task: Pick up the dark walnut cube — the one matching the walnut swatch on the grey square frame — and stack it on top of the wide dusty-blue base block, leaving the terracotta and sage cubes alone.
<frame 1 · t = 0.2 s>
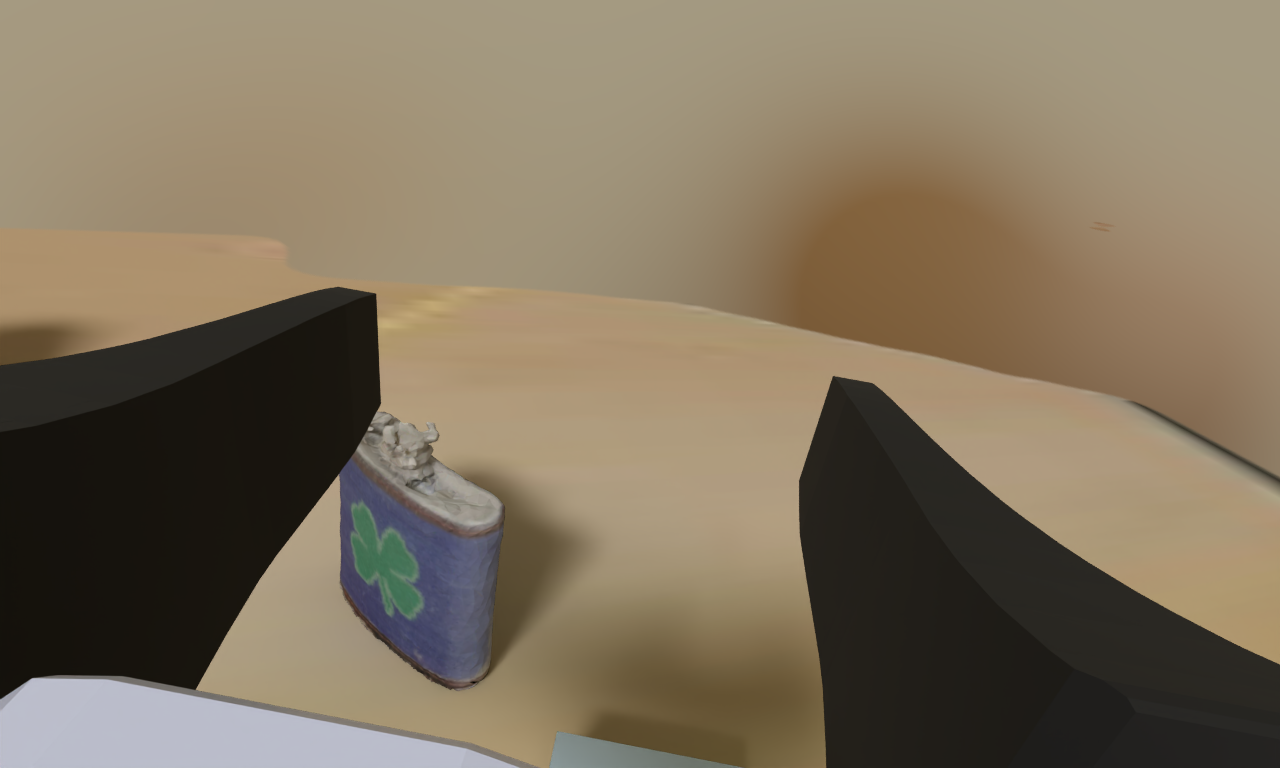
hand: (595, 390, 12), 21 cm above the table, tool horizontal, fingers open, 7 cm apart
flask: (408, 626, 33), on the table
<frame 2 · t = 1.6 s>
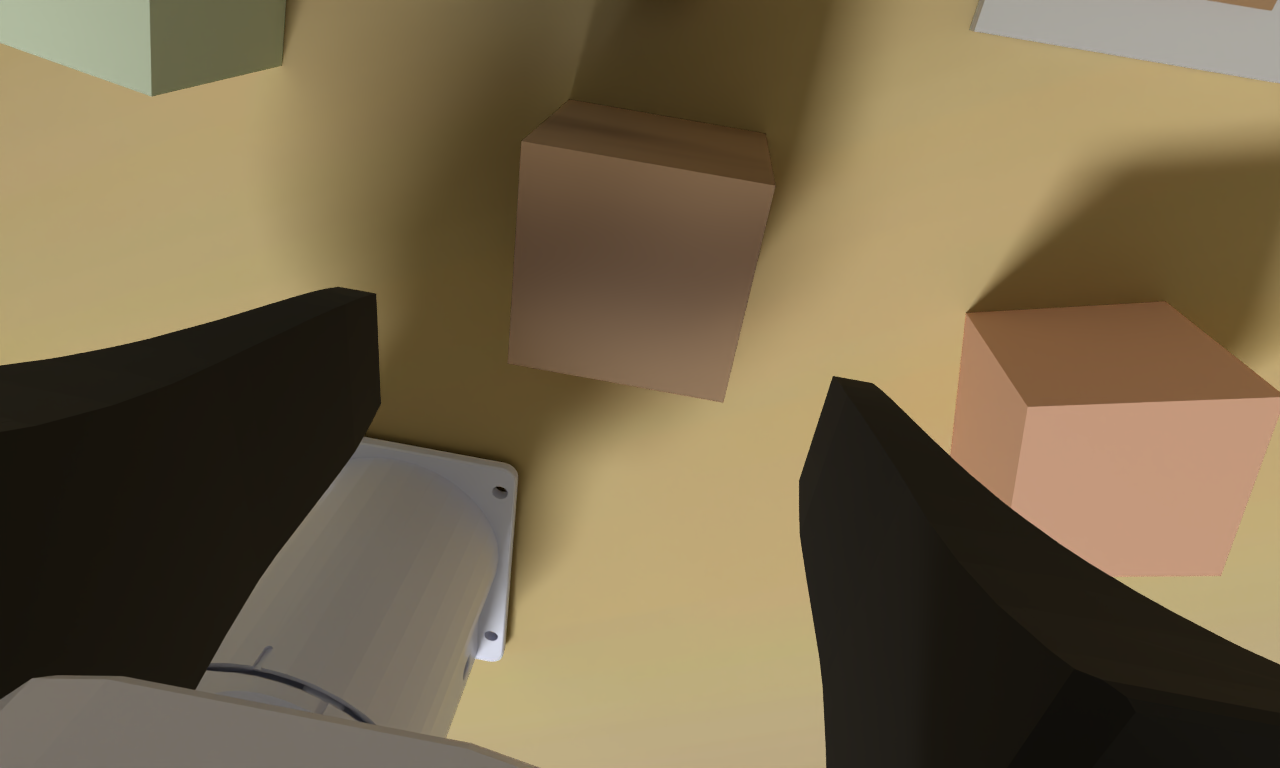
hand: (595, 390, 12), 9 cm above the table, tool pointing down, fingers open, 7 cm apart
terracotta cube: (1048, 386, 21), on the table
walnut cube: (652, 211, 20), on the table
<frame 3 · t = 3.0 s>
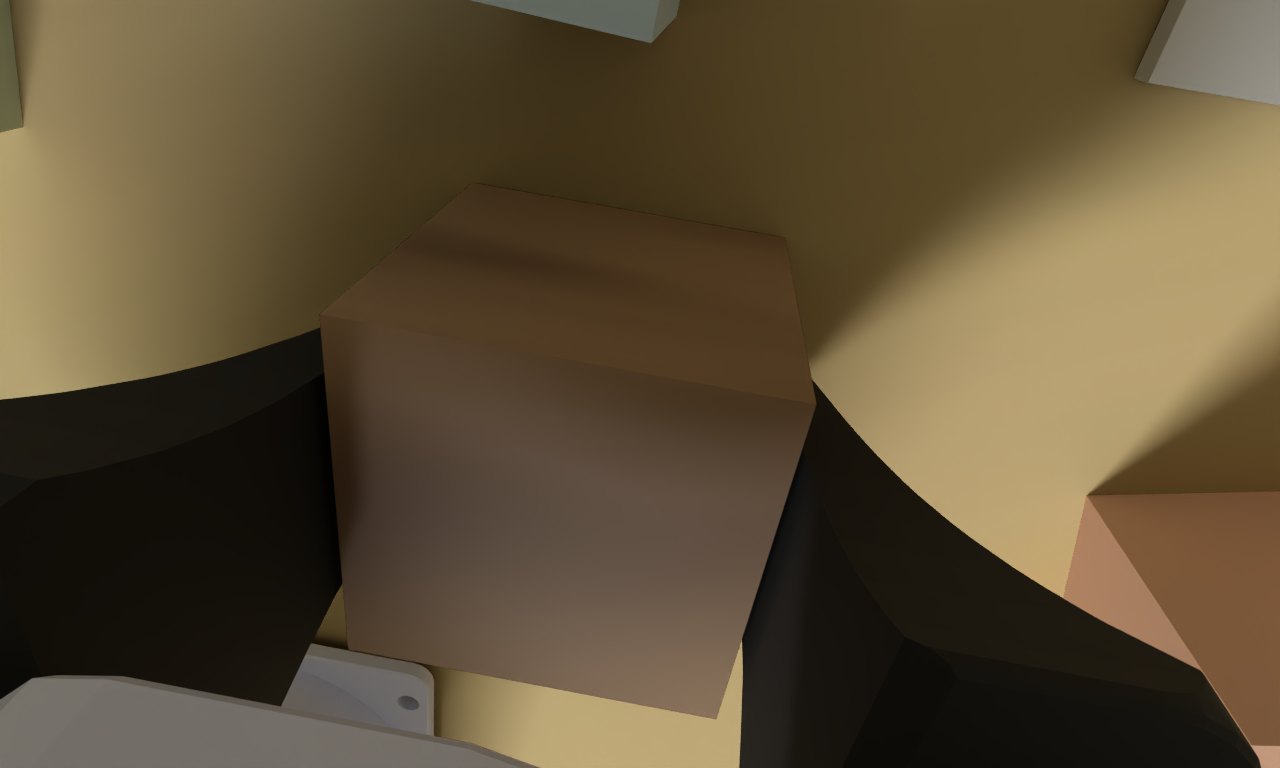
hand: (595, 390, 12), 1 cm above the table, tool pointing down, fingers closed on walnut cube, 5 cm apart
terracotta cube: (1201, 592, 14), on the table
walnut cube: (608, 349, 13), on the table, touching gripper
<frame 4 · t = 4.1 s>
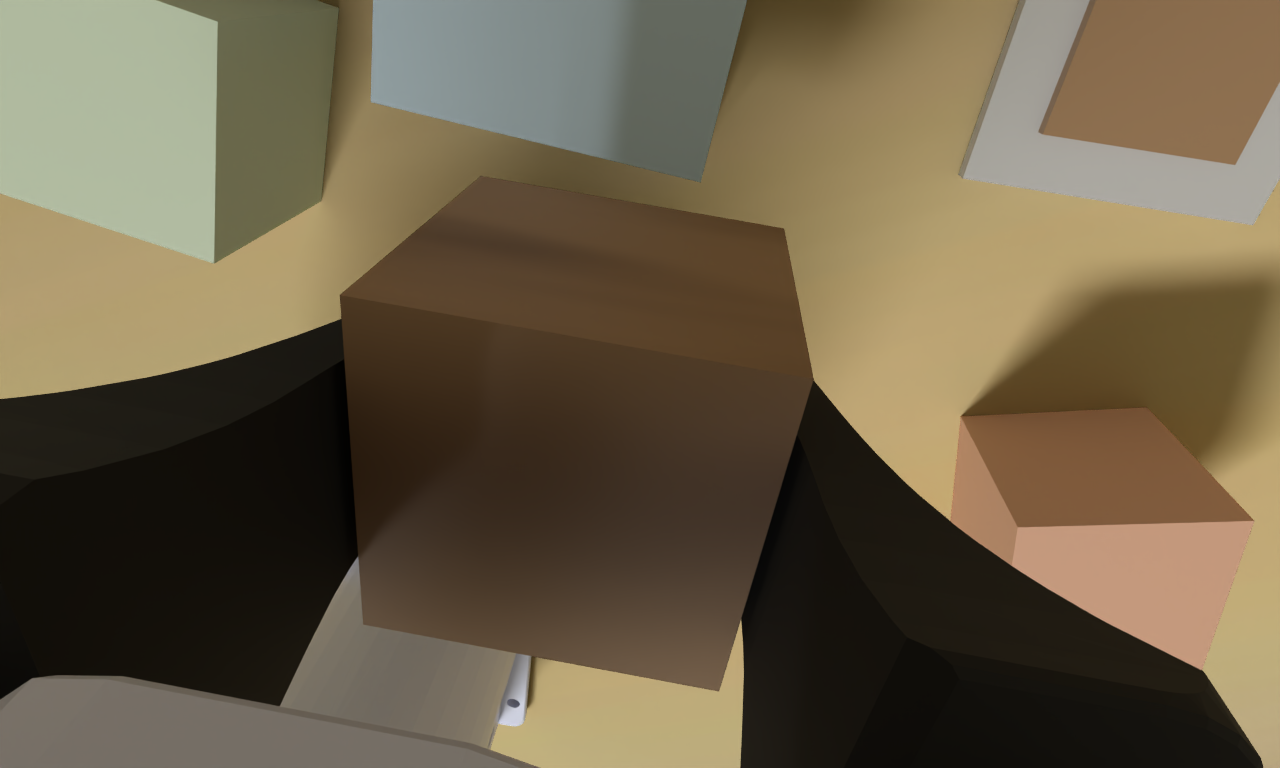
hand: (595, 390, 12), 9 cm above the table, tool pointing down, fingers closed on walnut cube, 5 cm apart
grey square frame: (1170, 42, 16), on the table
terracotta cube: (1039, 480, 22), on the table
sage cube: (236, 77, 19), on the table
walnut cube: (612, 338, 13), point 7 cm above the table, touching gripper
when the fingers open (6 cm above the table, at t = 5.4 s): walnut cube stays where it is, resting on base block.
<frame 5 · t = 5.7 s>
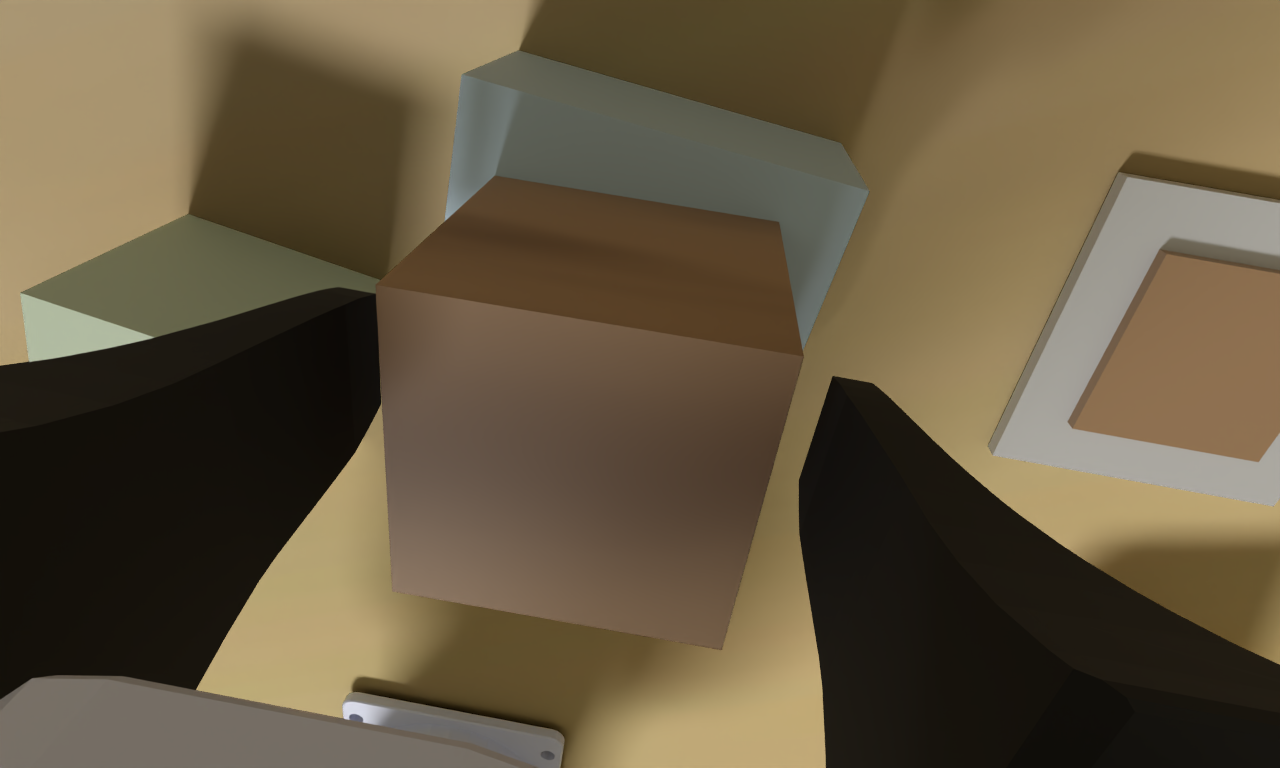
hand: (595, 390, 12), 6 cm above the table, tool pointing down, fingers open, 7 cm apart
grey square frame: (1198, 350, 17), on the table
sage cube: (283, 332, 19), on the table
base block: (641, 247, 17), on the table, touching walnut cube
walnut cube: (619, 327, 14), point 4 cm above the table, touching base block
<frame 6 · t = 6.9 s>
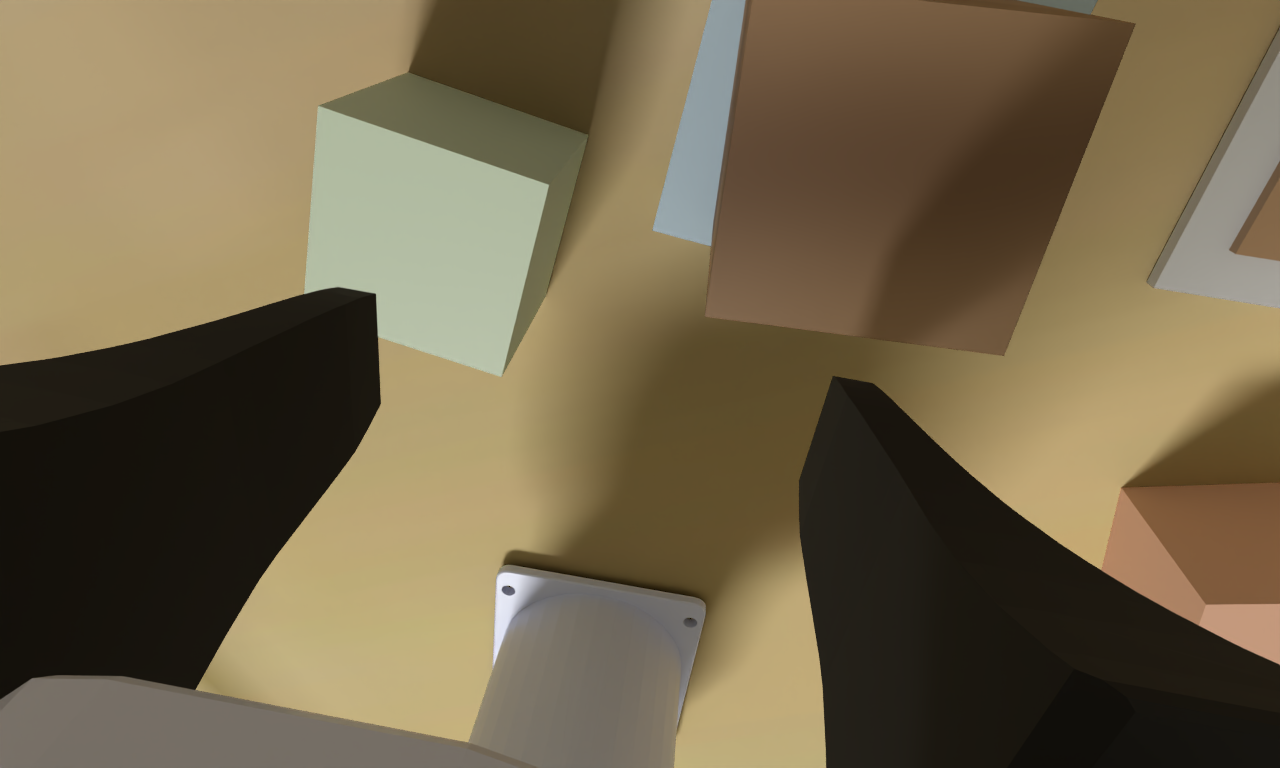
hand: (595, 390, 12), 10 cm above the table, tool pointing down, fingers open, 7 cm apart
terracotta cube: (1187, 543, 24), on the table
sage cube: (482, 191, 21), on the table
base block: (833, 87, 19), on the table, touching walnut cube
walnut cube: (849, 121, 15), point 4 cm above the table, touching base block
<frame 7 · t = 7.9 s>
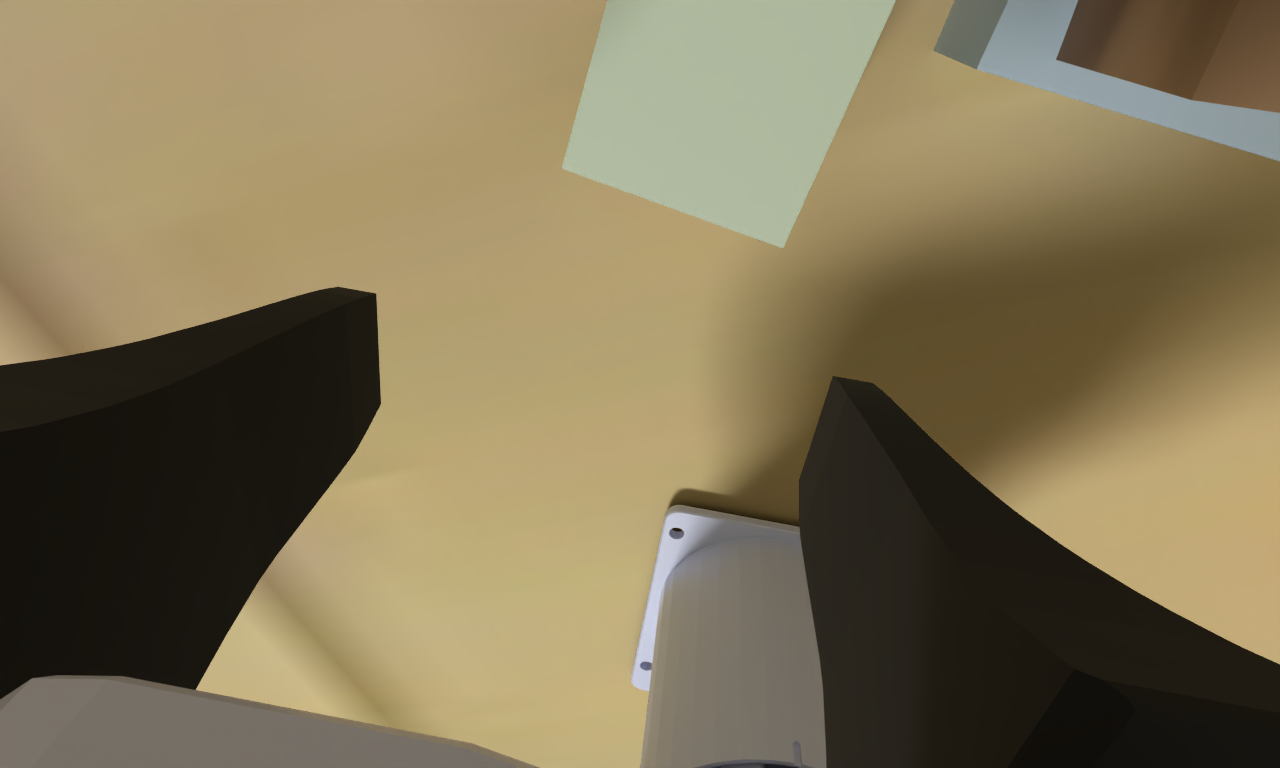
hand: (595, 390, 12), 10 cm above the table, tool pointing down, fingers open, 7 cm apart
sage cube: (720, 61, 19), on the table
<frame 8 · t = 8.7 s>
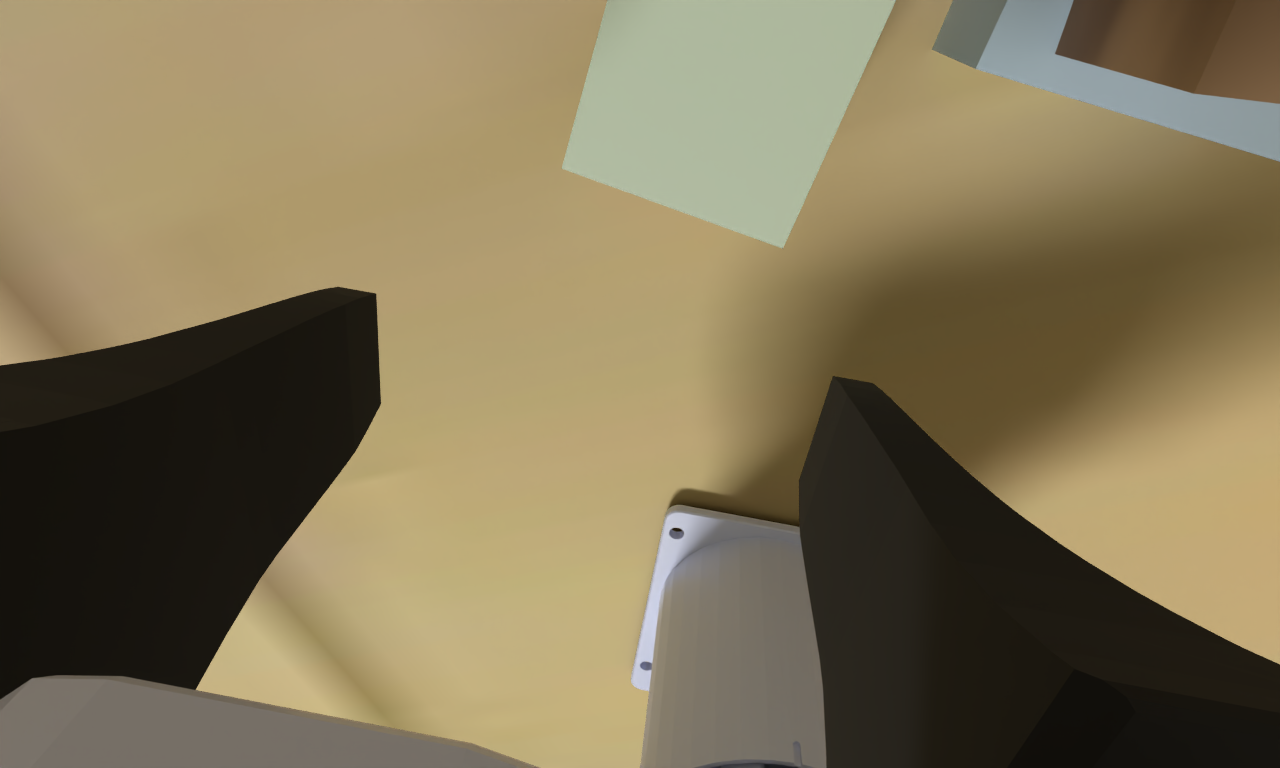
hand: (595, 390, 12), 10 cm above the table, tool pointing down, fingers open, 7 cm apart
sage cube: (720, 61, 19), on the table
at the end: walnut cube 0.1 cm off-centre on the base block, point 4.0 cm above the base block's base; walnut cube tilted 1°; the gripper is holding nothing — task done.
